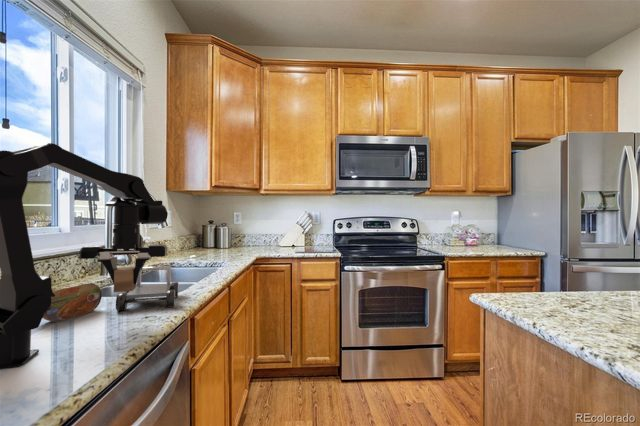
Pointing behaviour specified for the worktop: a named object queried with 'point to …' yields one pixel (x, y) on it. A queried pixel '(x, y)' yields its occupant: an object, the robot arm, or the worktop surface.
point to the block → (124, 279)
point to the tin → (73, 302)
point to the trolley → (150, 291)
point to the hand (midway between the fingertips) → (125, 284)
